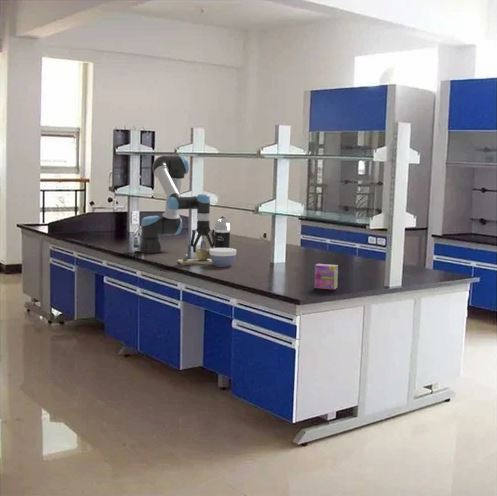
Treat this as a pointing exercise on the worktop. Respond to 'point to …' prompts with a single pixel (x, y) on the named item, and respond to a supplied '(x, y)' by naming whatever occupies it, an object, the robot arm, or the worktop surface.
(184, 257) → the short steel post
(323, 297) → the worktop surface
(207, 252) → the brass collar
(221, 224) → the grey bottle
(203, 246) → the tall steel post
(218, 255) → the bowl
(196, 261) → the birch board
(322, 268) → the box
